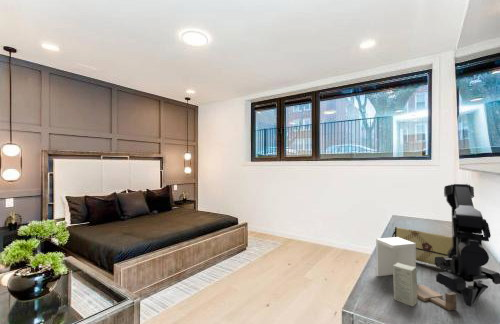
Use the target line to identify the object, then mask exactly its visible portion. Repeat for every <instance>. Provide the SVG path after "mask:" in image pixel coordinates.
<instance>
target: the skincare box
mask: <svg viewBox="0 0 500 324" xmlns="http://www.w3.org/2000/svg"><path fill="white" fill-rule="evenodd" d="M392 280H393V300H395V301H398V302H400V303H403V304H405V305H407V306H411V307H414V306H416V304H417V303H418V301H419V300H418V297H417V285H418V281H417V280H418V278H417V266H416V267H413V266H409V265H406V264H402V263H398V262H397V263H396V264H394V265H393V275H392Z"/></svg>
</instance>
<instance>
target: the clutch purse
mask: <svg viewBox="0 0 500 324" xmlns="http://www.w3.org/2000/svg"><path fill="white" fill-rule="evenodd" d="M391 237H399V238H402V239H405V240H408V241H410V242H413V243H416V265H418V266H420V267H425V268H426V269H430V270H436V271H440V272H446V270H445V269H443V270H441V269H440V268H434V267H431V266H427V265H425V263H426V264H430V265H433V266H436V265H435V257H444V258H445V257H448V253H447V252H448V251H449V249H450V248H451V247H452V236H449V235H446V234H445V235H442V234H438V233H433V232H426V231H420V230H416V229H410V228H403V227H398V226H395V227H394V230H393V233H392V235H391ZM417 261H418V262H422V263H424V265H423V264H421V263H417Z"/></svg>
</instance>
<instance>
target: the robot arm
mask: <svg viewBox="0 0 500 324" xmlns="http://www.w3.org/2000/svg"><path fill="white" fill-rule="evenodd" d="M443 196H444V198H445V200H446V203H447V204H448V205H449V207H450V208H451V237H452V247H451V248H450V249H449V251H448V252H447V253H448V257H445V258H444V257H435V265H434V266H436V267H437V268H439V269H440V270H446V272H445V271H441V272H438V273H436V274H435V281H436V282H437V283H439V284H441V285H443V286H444V287H445V288H448V289H449V290H452V291H454V292H456V293H458V294H460V295H462V297H463V300H464V303H465V305H466V306H467V307H469V308H471V307H473V306H474V305H475V303H476V302H477V301H478V299H479V298H480V296H482V295H483V293H484V292H485V290H487V289H488V288H489V286H488V285H486V284H484V281H483V280H488V279H489V280H491V282H492V283H493V284H494V285H499V284H500V273H499V272H497V271H494V270H492V269H489V268H486V267H483V266H486V265H487V264H488V263H489V259H490V257H489V256H490V255H489V253H488V252H487V250H486V249H485V247H484V246H483V243H482V241H483V242H490V240H489V239H491V236H492V234H491V230H490V225H489V223H488V221H487V219H486V218H484V217H483V214H482V211H480V210H478V209H476V208H475V206H474V203H473V202H474V201H473V199H474V197H475V189H474V186H471V184H469V183H465V182H464V183H462V182H460V183H459V182H457V183H456V182H455V183H451V184H448V185H444V187H443Z"/></svg>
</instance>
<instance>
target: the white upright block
mask: <svg viewBox="0 0 500 324" xmlns="http://www.w3.org/2000/svg"><path fill="white" fill-rule="evenodd" d="M375 244H376V247H375V248H376V250H375V251H376V255H375V256H376V276H377V277H382V276H383V277H385V276H393V265H394V264H396V263H397V262H398V263H402V264H406V265H409V266H413V267H416V268H417V264H416V263H417V260H416V243H413V242H410V241H408V240H405V239H402V238H399V237H395V236H394V237H392V236H391V237H380V238H375Z"/></svg>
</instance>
